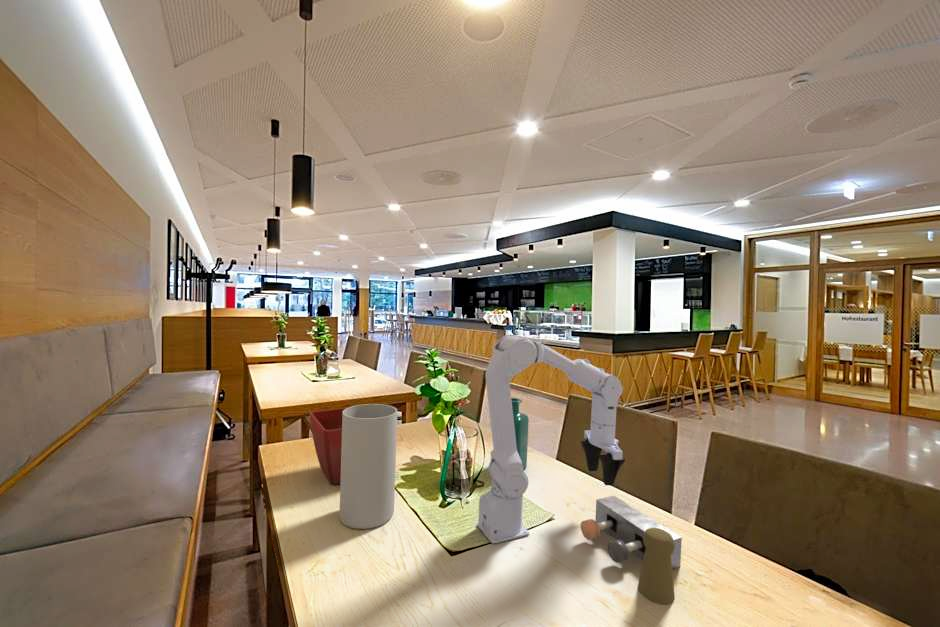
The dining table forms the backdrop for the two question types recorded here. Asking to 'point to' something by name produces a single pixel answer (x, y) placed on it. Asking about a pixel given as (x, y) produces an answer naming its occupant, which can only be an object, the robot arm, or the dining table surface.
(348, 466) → the cylinder vase
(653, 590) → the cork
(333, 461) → the plant pot
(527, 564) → the dining table surface
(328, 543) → the dining table surface
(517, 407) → the green bottle
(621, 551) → the gray knob
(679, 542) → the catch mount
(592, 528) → the terracotta knob
